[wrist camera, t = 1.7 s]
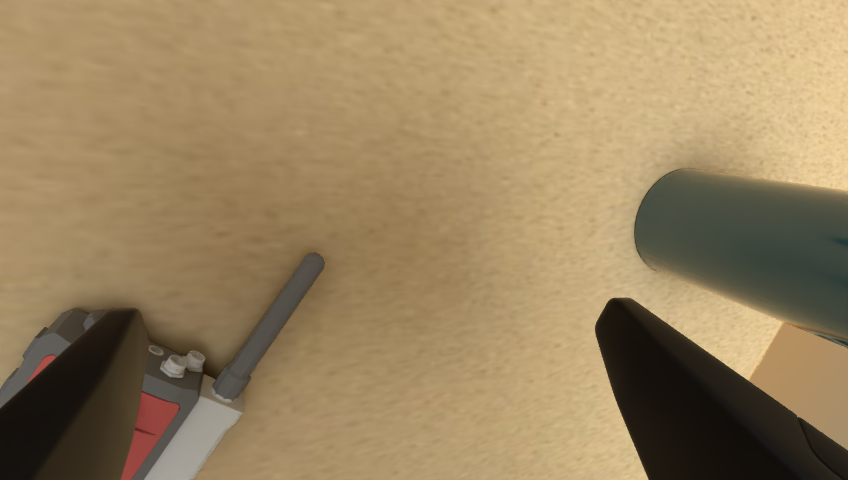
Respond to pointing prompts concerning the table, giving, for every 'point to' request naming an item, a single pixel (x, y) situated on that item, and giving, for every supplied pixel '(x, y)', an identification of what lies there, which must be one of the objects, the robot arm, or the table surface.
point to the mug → (753, 244)
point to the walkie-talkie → (176, 386)
